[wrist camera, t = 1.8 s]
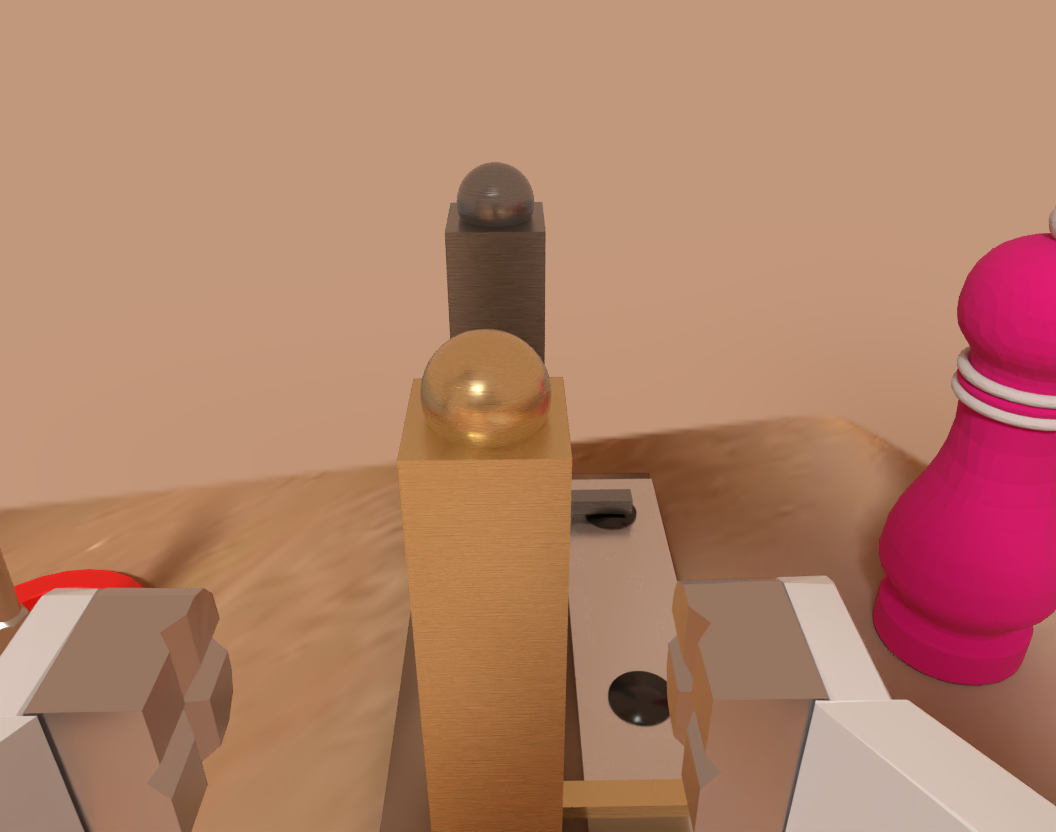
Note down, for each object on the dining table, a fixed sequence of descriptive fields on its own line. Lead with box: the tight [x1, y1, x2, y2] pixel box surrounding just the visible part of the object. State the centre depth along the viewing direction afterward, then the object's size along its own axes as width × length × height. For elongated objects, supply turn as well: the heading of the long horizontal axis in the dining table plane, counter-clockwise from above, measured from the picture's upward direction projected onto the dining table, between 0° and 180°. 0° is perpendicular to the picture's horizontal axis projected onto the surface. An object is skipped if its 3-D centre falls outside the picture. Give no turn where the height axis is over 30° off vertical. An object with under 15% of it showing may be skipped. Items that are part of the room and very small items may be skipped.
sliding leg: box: [397, 329, 690, 832], centre depth 25 cm, size 8×4×17 cm, turn 91°
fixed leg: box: [445, 162, 633, 515], centre depth 40 cm, size 8×4×18 cm, turn 91°
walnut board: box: [380, 473, 650, 832], centre depth 38 cm, size 12×24×2 cm, turn 1°
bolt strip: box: [568, 479, 693, 832], centre depth 38 cm, size 9×22×1 cm, turn 1°
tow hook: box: [0, 549, 143, 656], centre depth 36 cm, size 8×13×9 cm
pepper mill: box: [873, 207, 1056, 685], centre depth 34 cm, size 7×7×20 cm
